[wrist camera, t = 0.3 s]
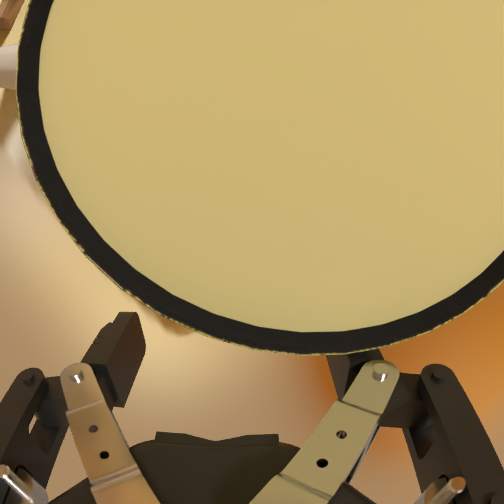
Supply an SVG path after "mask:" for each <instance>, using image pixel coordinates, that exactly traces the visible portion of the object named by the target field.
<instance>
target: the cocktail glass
mask: <svg viewBox="0 0 504 504" xmlns="http://www.w3.org/2000/svg"><path fill="white" fill-rule="evenodd" d="M16 101H17V110H18V117H19V124H20V131H21V137H22V140H23V144H24V147H25V150H26V153H27V156H28V159H29V162H30V165H31V167H32V170H33V173H34V176H35V178H36V181H37V183H38V185H39V187H40V189H41V191H42V193H43V194H44V196H45V198H46V200H47V202H48V204H49V205H50V207H51V209H52V211H53V213H54V214H55V216H56V218H57V220H58V221H59V223H60V224H61V225H62V227H63V228H64V229H65V231H66V232H67V233H68V235H69V236H70V237H71V238H72V240H73V241H74V242H75V244H76V245H77V246H78V247H79V249H80V250H81V251H82V252H83V254H84V255H85V256H86V257H87V258H88V259H89V260H90V261H91V262H92V263H93V264H94V265H95V266H96V267H97V268H98V269H99V270H100V271H102V272H103V273H104V274H105V275H106V276H107V277H108V278H109V279H110V280H111V281H112V282H114V283H115V284H116V285H117V286H118V287H119V288H120V289H122V290H123V291H124V292H126V293H127V294H129V295H130V296H132V297H133V298H135V299H136V300H138V301H139V302H141V303H142V304H144V305H145V306H147V307H148V308H150V309H152V310H153V311H155V312H156V313H158V314H159V315H161V316H163V317H165V318H167V319H169V320H171V321H173V322H175V323H178V324H180V325H182V326H184V327H186V328H188V329H191V330H193V331H195V332H197V333H200V334H202V335H204V336H207V337H210V338H213V339H217V340H220V341H224V342H227V343H231V344H234V345H238V346H241V347H245V348H249V349H252V350H259V351H266V352H275V353H282V354H291V355H300V356H301V355H338V354H350V353H356V352H362V351H367V350H373V349H378V348H383V347H388V346H391V345H394V344H397V343H400V342H403V341H406V340H409V339H412V338H414V337H417V336H420V335H423V334H425V333H428V332H430V331H432V330H434V329H436V328H438V327H440V326H441V325H443V324H445V323H447V322H449V321H451V320H453V319H455V318H456V317H458V316H460V315H462V314H463V313H465V312H466V311H467V310H469V309H470V308H472V307H473V306H474V305H476V304H477V303H479V302H480V301H481V300H483V299H484V298H485V297H486V296H488V295H489V294H490V293H491V292H493V291H494V290H495V289H496V288H497V287H498V286H499V285H500V284H501V283H502V282H503V281H504V0H30V2H29V4H28V7H27V11H26V14H25V18H24V22H23V26H22V30H21V35H20V40H19V44H18V51H17V65H16Z"/></svg>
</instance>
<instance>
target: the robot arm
mask: <svg viewBox="0 0 504 504" xmlns="http://www.w3.org/2000/svg"><path fill="white" fill-rule="evenodd" d="M145 349H146V344H145V339H144V335H143V331H142V328H141V323H140V319H139V316H138V314H137V313H136V312H119V313H118V315H117V317H116V318H115V320H114V321H113V323H108V324H107V325H106V326H105V327H103V328H102V329H101V330H100V332H99V333H98V335H97V338H95V340H94V341H93V344H92V345H91V346H90V348H89V349H88V351H87V352H86V354H85V356H84V357H83V359H82V361H81V362H80V363H75V364H72V365H69V366H68V367H66V368H65V369H64V370H63V371H62V373H61V375H60V376H57V377H48V378H45V376H44V374H43V372H42V371H41V370H40V369H38V368H29V369H26V370H24V371H22V372H21V373H20V374H18V376H17V377H16V379H15V380H14V382H13V383H12V385H11V386H10V388H9V390H8V391H7V393H6V394H5V396H4V398H3V399H2V401H1V403H0V504H376V503H375V502H373V501H372V500H370V499H369V498H368V497H366V496H365V495H363V494H362V493H360V492H359V491H358V490H357V489H355V488H354V487H353V486H351V485H350V483H351V481H352V479H353V478H354V476H355V474H356V472H357V470H358V468H359V467H360V464H361V463H362V461H363V459H364V457H365V455H366V454H367V452H368V450H369V448H370V446H371V444H372V442H373V441H374V439H375V436H376V435H377V433H378V431H379V429H380V427H381V426H382V427H396V428H402V430H403V433H404V436H405V439H406V442H407V445H408V449H409V452H410V455H411V458H412V461H413V465H414V468H415V472H416V475H417V478H418V482H419V486H420V489H421V493H422V495H421V496H420V497H419V498H418V499H417V500H416V501H415V502H414V504H504V469H503V467H502V465H501V463H500V461H499V458H498V456H497V454H496V452H495V450H494V447H493V446H492V443H491V441H490V439H489V437H488V435H487V433H486V431H485V429H484V427H483V425H482V423H481V421H480V419H479V418H478V416H477V414H476V412H475V410H474V408H473V406H472V404H471V402H470V401H469V399H468V397H467V395H466V393H465V392H464V390H463V388H462V386H461V385H460V383H459V381H458V379H457V377H456V376H455V374H454V373H453V371H452V370H451V369H450V368H448V367H446V366H444V365H441V364H430V365H427V366H426V367H424V368H423V370H422V372H421V374H407V373H401V372H399V370H398V368H397V367H396V366H395V365H394V364H393V363H391V362H389V361H386V360H384V358H383V356H382V354H381V352H380V350H379V348H378V349H373V350H367V351H362V352H356V353H350V354H338V355H326V358H327V361H328V365H329V368H330V372H331V375H332V378H333V382H334V385H335V389H336V392H337V396H338V400H336V401H335V403H334V404H333V405H332V407H331V408H330V410H329V411H328V412H327V414H326V415H325V417H324V418H323V420H322V421H321V422H320V424H319V425H318V426H317V428H316V429H315V431H314V432H313V433H312V435H311V436H310V437H309V438H308V440H307V441H306V442H305V444H304V445H303V446H302V448H299V447H297V446H294V445H291V444H287V443H282V442H279V437H278V434H264V435H245V436H240V437H236V438H231V439H226V440H221V441H211V440H207V439H203V438H199V437H195V436H192V435H188V434H182V433H168V432H156V436H155V440H150V441H145V442H142V443H139V444H136V445H134V446H132V447H129V445H128V443H127V441H126V439H125V438H124V435H123V433H122V431H121V429H120V428H119V425H118V423H117V421H116V419H115V417H114V415H113V413H112V410H113V407H122V408H124V406H125V403H126V401H127V398H128V395H129V393H130V390H131V388H132V385H133V383H134V380H135V377H136V375H137V372H138V370H139V367H140V365H141V362H142V360H143V357H144V355H145ZM34 415H35V416H36V418H37V420H36V422H35V424H34V426H33V428H32V430H31V433H30V434H29V424H30V422H31V420H32V418H33V416H34ZM69 426H70V429H71V432H72V435H73V438H74V441H75V444H76V447H77V449H78V452H79V455H80V457H81V461H82V463H83V466H84V469H85V471H86V474H87V476H88V477H87V478H86V479H84V480H82V481H81V482H79V483H78V484H76V485H75V486H73V487H72V488H70V489H69V490H67V491H66V492H64V493H63V494H61V495H60V496H58V497H56V498H55V499H53V500H52V501H50V502H49V503H48V494H47V492H46V490H45V489H46V486H47V483H48V480H49V477H50V475H51V472H52V469H53V466H54V463H55V461H56V458H57V455H58V452H59V450H60V447H61V444H62V442H63V439H64V437H65V434H66V432H67V429H68V427H69Z"/></svg>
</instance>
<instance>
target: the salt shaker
mask: <svg viewBox="0 0 504 504" xmlns="http://www.w3.org/2000/svg"><path fill="white" fill-rule="evenodd" d="M17 51H18V44H14V45H8V46H3V47H0V87H1V88H6V89H10V90H15V89H16V65H17Z"/></svg>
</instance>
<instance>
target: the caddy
mask: <svg viewBox="0 0 504 504" xmlns="http://www.w3.org/2000/svg"><path fill="white" fill-rule="evenodd" d="M23 2H24V0H2V2H1V5H0V29H5V30H11V28H12V26H13V23H14V21H15V19H16V17H17V14H18V12H19V10H20V8H21V6H22V4H23Z"/></svg>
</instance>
